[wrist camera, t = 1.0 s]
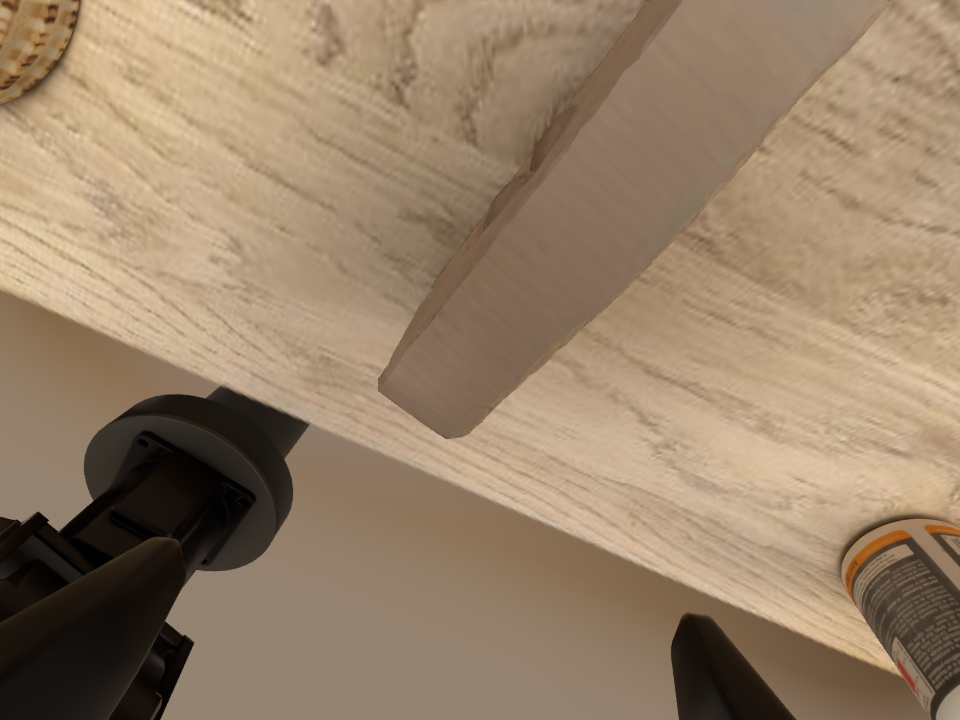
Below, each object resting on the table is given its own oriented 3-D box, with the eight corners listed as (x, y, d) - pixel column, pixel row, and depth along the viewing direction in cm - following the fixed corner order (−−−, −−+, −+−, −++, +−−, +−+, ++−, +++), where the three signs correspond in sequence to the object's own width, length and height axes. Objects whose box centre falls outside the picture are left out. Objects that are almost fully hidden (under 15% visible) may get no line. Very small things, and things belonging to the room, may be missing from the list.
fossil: (653, -21, 16) (788, -183, 7) (735, 59, 16) (950, 1, 8) (431, 278, 20) (353, 397, 12) (502, 330, 21) (475, 479, 13)
